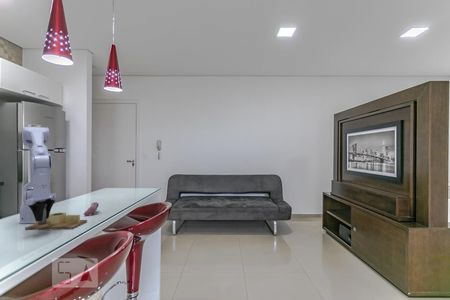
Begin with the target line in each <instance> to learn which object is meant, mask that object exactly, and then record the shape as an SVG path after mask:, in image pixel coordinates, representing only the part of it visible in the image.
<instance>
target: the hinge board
mask: <svg viewBox="0 0 450 300" xmlns="http://www.w3.org/2000/svg"><path fill="white" fill-rule="evenodd" d="M86 223H88V219H80V223H78V224H61V225H55V226H50V225H49V224H43V225H38V224H35V223H32V224H31V225H28V226H26V227H24V230H25V231H31V230H32V231H35V230H37V231H40V230H41V231H42V230H43V231H44V230H47V231H48V230H75V229H77V228H78V227H80V226H82V225H84V224H86Z"/></svg>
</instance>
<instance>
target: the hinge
mask: <svg viewBox="0 0 450 300" xmlns="http://www.w3.org/2000/svg"><path fill="white" fill-rule="evenodd" d="M80 220H81V215H80V214H67V213H66V212H55V213H50V214H49V218H48V219H47V223H46V224H49V225H50V226H55V225H61V224H78V223H80ZM34 224H38V221H36V220H35V223H34Z"/></svg>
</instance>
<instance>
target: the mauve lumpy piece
mask: <svg viewBox="0 0 450 300" xmlns="http://www.w3.org/2000/svg"><path fill="white" fill-rule="evenodd" d="M98 208H99V203H98V202H97V201H96V202H92V203H91V205H90V206H89V207H88V208H87V210H85V212H84V213H83V215H84V217H88V216H90V215H94V213H95V212H97V210H98Z"/></svg>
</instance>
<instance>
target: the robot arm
mask: <svg viewBox="0 0 450 300" xmlns="http://www.w3.org/2000/svg"><path fill="white" fill-rule="evenodd" d="M21 136H22V144H23V145H24V146H26V147H27V148H28V150H29V179H30V180H29V182H27V183H26V184H24V185H23V187H22V201H23V202H22V204H21V205H20V207H19V222H18V224H35V220H36V221H42V219H43V211H44V207H45V205H46V204H47V206H46V217H47V219H48V218H49V215H50V214H51V210H52V207H53V206H54V204H55V202H56V198H57V193H56V192H55V193H52V191H51V169H52V166H53V159H52V155H51V154H50V153H49V149H48V146H47V145H48V142H49V139H50V129H49V127H47V126H46V127H42V126H41V127H39V126H23V127H22V130H21Z"/></svg>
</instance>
